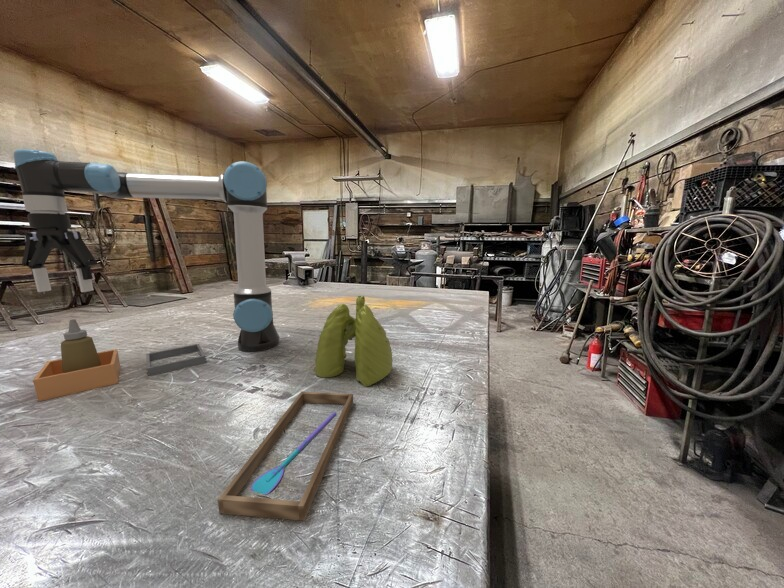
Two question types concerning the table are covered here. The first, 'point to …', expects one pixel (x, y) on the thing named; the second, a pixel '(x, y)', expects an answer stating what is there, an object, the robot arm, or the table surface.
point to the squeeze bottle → (78, 350)
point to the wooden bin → (76, 377)
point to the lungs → (369, 344)
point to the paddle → (283, 465)
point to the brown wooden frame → (262, 506)
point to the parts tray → (177, 364)
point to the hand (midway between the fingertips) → (65, 291)
